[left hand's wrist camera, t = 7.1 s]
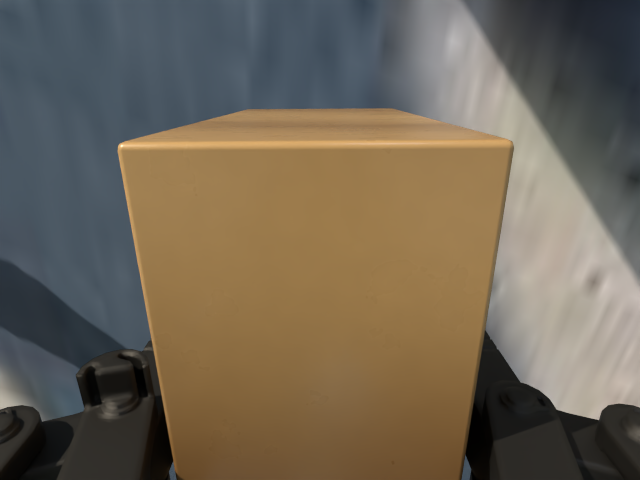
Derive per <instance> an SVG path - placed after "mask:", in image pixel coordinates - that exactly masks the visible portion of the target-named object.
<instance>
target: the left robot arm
mask: <svg viewBox="0 0 640 480" xmlns="http://www.w3.org/2000/svg"><path fill="white" fill-rule="evenodd" d="M76 378H77V382H78V385H79V389H80V393H81V397H82V400H83V404H84V408H85V409H84V411H83V412H80V413H77V414H74V415H70V416H65V417H61V418H57V419H52V420H48V421H44V422H42V421H41V417H40V414H39V412H38V411H37V410H36V409H34V408H33V407H29V406H23V405H21V406H13V407H7V408H4V409H1V410H0V480H170V475H169V470H170V467H171V465H172V462H173V456H172V450H171V445H170V439H169V434H168V428H167V422H166V417H165V411H164V406H163V400H162V395H161V389H160V383H159V378H158V372H157V367H156V361H155V356H154V350H153V344H152V339H151V341H149V342H148V343H147V345H146V346H145V348H144V351H142V352H141V351H137V350H133V349H125V350H116V351H112V352H108V353H105V354H103V355H100V356H98V357H96V358H93V359H92V360H91V361H89V362H88V363H86V364H85V365H84V366H82V368H81V369H80V370H79V371H78V373H77V374H76ZM465 454H466V457H467V459H468V462H469V464H470V467H471V475H470V480H640V408H639V407H636V406H633V405H625V404H614V405H608V406H607V407H606V408H605V409H604V410H602V413H601V416H600V419H599V420H595V419H591V418H587V417H582V416H578V415H573V414H569V413H566V412H562V411H559V410H556V408H555V407H554V405H553V404H552V402H551V401H550V399H549V398H548V397H547V396H545V395H544V394H543V393H542V392H540V391H539V390H537V389H535V388H533V387H531V386H529V385H527V384H524V383H520V381H519V380H518V378H517V377H516V375H515V374H514V372H513V371H512V369H511V368H510V366H509V365H508V363H507V362H506V360H505V359H504V357H503V356H502V354H501V353H500V351H499V350H498V349H497V348H496V346H495V344H494V343H493V341H492V340H490V337H489V335H488V334H487V332H486V331H485V333H484V340H483V346H482V352H481V359H480V365H479V371H478V377H477V384H476V390H475V396H474V403H473V409H472V415H471V422H470V428H469V434H468V441H467V447H466V453H465Z"/></svg>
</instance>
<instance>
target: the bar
mask: <svg viewBox="0 0 640 480" xmlns="http://www.w3.org/2000/svg"><path fill="white" fill-rule="evenodd" d="M513 150H514V146H513V142H512V141H510V140H508V139H505V138H501V137H497V136H493V135H489V134H486V133H482V132H478V131H474V130H471V129H467V128H463V127H459V126H456V125H452V124H448V123H444V122H440V121H437V120H433V119H429V118H425V117H422V116H418V115H414V114H410V113H407V112H403V111H399V110H395V109H391V108H389V109H248V110H244V111H240V112H236V113H232V114H229V115H225V116H221V117H217V118H213V119H209V120H206V121H202V122H198V123H194V124H190V125H186V126H182V127H179V128H175V129H171V130H167V131H163V132H159V133H156V134H152V135H148V136H144V137H140V138H136V139H132V140H129V141H125V142H123V143H121V144H119V146H118V155H119V160H120V166H121V171H122V177H123V183H124V188H125V194H126V199H127V205H128V210H129V216H130V222H131V227H132V233H133V238H134V244H135V250H136V255H137V261H138V266H139V272H140V277H141V283H142V289H143V294H144V300H145V305H146V311H147V316H148V322H149V328H150V333H151V339H152V344H153V350H154V356H155V361H156V367H157V372H158V378H159V383H160V389H161V395H162V400H163V406H164V411H165V417H166V422H167V428H168V434H169V439H170V445H171V450H172V456H173V462H174V467H175V473H176V478H177V480H461V479H462V472H463V466H464V460H465V453H466V447H467V441H468V434H469V428H470V422H471V415H472V409H473V403H474V396H475V390H476V384H477V377H478V371H479V365H480V359H481V352H482V346H483V340H484V333H485V327H486V321H487V314H488V308H489V302H490V295H491V289H492V283H493V276H494V270H495V264H496V257H497V251H498V245H499V238H500V232H501V226H502V220H503V213H504V207H505V201H506V194H507V188H508V182H509V175H510V169H511V163H512V156H513Z"/></svg>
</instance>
